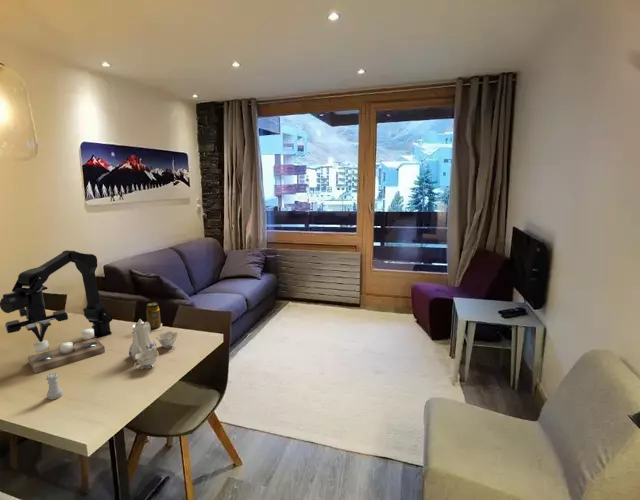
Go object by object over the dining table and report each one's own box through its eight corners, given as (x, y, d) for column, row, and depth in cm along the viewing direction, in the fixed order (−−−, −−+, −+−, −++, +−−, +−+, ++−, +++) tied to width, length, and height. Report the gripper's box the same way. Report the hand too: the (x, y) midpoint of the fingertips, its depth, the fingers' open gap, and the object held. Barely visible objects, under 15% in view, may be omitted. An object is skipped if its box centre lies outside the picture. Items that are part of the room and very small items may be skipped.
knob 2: (92, 334, 158) (91, 327, 157) (95, 337, 155) (94, 330, 154) (81, 337, 155) (80, 330, 154) (83, 340, 152) (83, 333, 151)
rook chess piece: (52, 392, 125) (49, 371, 124) (66, 392, 126) (62, 371, 124) (43, 400, 121) (40, 378, 119) (58, 399, 121) (54, 378, 120)
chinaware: (156, 377, 139) (157, 336, 135) (111, 373, 137) (111, 333, 134) (180, 344, 166) (181, 309, 163) (143, 341, 165) (143, 306, 162)
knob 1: (47, 346, 146) (46, 339, 146) (50, 349, 143) (49, 342, 143) (34, 349, 143) (32, 342, 143) (36, 353, 140) (35, 346, 140)
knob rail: (96, 343, 163) (95, 337, 162) (105, 352, 155) (104, 346, 154) (29, 362, 146) (28, 356, 145) (34, 373, 138) (33, 367, 137)
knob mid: (72, 347, 153) (71, 341, 152) (74, 351, 150) (74, 344, 149) (59, 351, 150) (58, 344, 149) (62, 354, 147) (61, 347, 146)
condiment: (162, 323, 185) (160, 301, 183) (161, 330, 177) (159, 306, 175) (146, 325, 182) (144, 302, 180) (144, 332, 175) (142, 308, 172)
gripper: (58, 293, 152) (64, 328, 155) (0, 304, 138) (7, 342, 141) (65, 299, 144) (70, 336, 147) (4, 312, 131) (11, 352, 134)
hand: (40, 341), depth 143 cm, fingers closed
